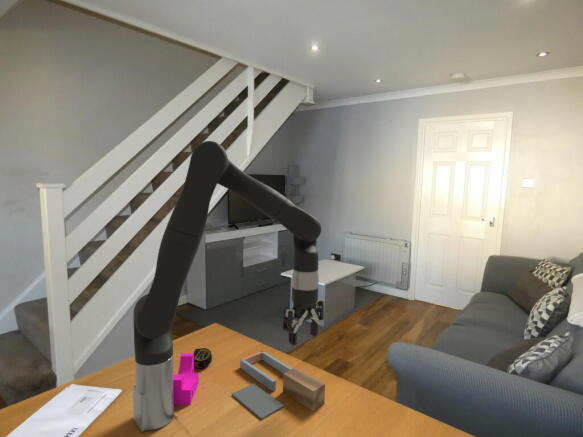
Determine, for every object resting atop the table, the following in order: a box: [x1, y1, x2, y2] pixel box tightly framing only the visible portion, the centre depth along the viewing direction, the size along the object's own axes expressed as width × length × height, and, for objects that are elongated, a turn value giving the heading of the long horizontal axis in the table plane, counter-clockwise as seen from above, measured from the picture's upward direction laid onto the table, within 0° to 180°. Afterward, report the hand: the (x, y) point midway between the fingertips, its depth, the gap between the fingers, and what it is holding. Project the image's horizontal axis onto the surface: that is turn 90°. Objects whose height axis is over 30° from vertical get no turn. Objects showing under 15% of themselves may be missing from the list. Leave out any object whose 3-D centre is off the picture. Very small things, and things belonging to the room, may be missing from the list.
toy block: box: [173, 352, 200, 406], centre depth 103 cm, size 15×6×8 cm, turn 3°
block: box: [282, 367, 326, 412], centre depth 100 cm, size 5×12×6 cm, turn 45°
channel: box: [239, 350, 293, 392], centre depth 112 cm, size 10×17×3 cm, turn 43°
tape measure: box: [193, 347, 213, 369], centre depth 116 cm, size 7×7×4 cm
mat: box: [231, 383, 285, 421], centre depth 98 cm, size 8×14×1 cm, turn 43°
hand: (303, 339), depth 99 cm, fingers open, 8 cm apart
